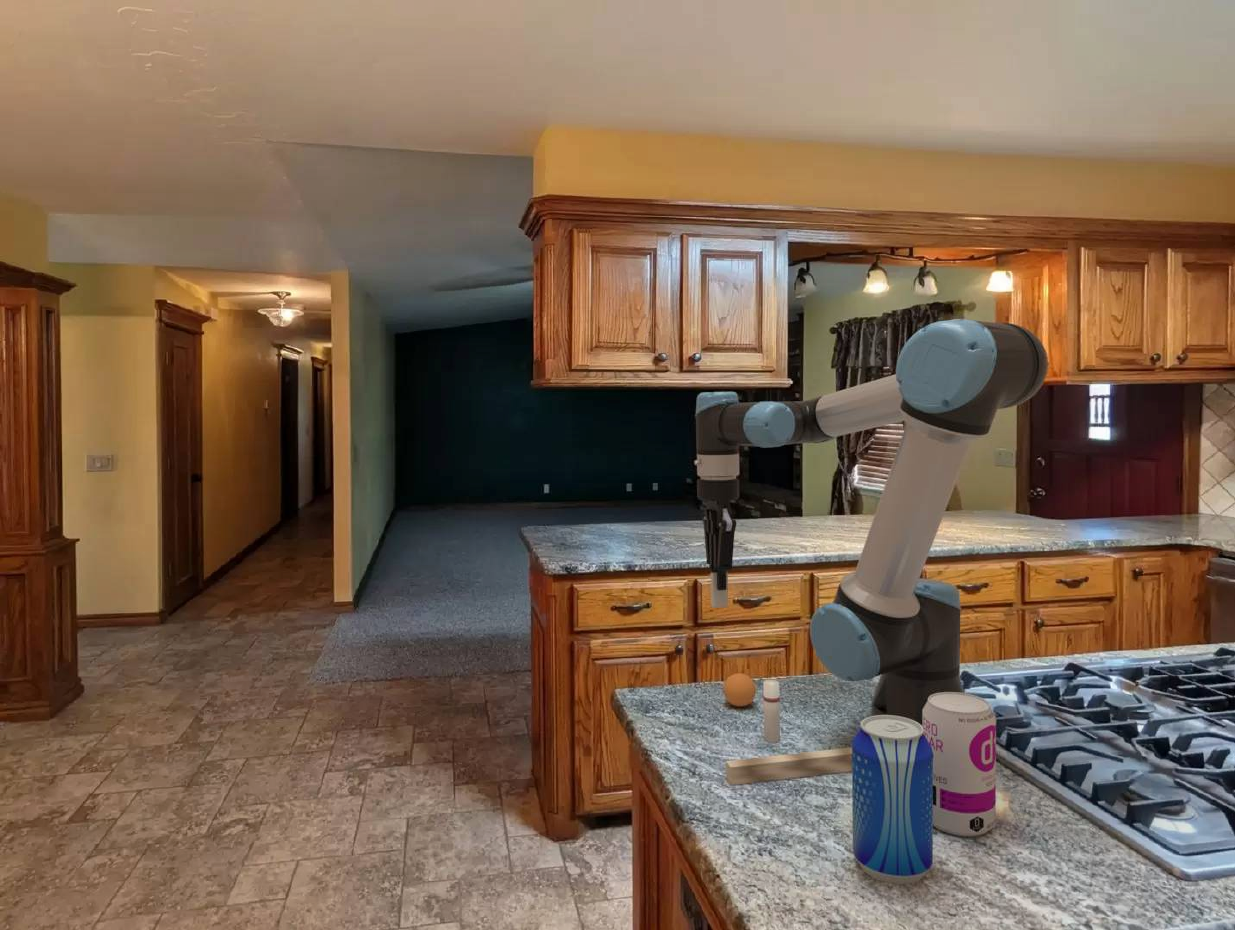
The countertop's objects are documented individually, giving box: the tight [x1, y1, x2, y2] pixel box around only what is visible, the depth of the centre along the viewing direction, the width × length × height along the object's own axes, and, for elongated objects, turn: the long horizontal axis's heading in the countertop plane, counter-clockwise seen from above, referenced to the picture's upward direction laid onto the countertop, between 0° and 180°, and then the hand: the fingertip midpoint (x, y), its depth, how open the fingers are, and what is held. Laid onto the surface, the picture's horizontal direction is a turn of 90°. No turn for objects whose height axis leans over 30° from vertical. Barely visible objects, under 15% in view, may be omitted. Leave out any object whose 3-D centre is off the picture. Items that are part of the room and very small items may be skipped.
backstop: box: [725, 747, 852, 786], centre depth 115 cm, size 22×2×2 cm, turn 101°
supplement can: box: [922, 692, 997, 837], centre depth 100 cm, size 8×8×15 cm
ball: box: [722, 672, 757, 707], centre depth 141 cm, size 6×6×6 cm
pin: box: [762, 679, 781, 744], centre depth 126 cm, size 2×2×9 cm
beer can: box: [851, 715, 934, 885], centre depth 91 cm, size 8×8×16 cm
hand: (719, 606), depth 150 cm, fingers closed
